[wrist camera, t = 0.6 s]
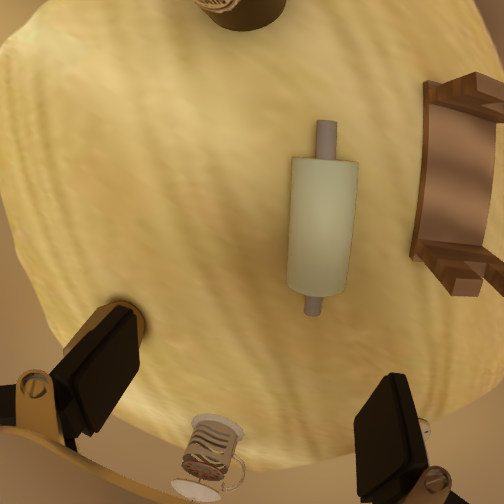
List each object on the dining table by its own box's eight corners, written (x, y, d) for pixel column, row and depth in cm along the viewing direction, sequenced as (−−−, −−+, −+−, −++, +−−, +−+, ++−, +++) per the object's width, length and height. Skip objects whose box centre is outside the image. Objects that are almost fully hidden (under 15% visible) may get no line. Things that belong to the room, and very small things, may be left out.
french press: (189, 408, 44) (133, 528, 21) (256, 422, 43) (221, 555, 20) (193, 436, 48) (149, 540, 25) (252, 449, 46) (222, 561, 23)
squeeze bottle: (116, 338, 41) (50, 415, 25) (99, 292, 39) (17, 364, 22) (159, 342, 40) (95, 434, 23) (143, 293, 37) (59, 381, 20)
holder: (471, 261, 28) (519, 307, 17) (409, 256, 29) (447, 307, 19) (488, 102, 21) (548, 96, 11) (423, 82, 22) (474, 59, 12)
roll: (337, 299, 32) (342, 329, 27) (286, 296, 33) (281, 325, 28) (354, 126, 26) (366, 122, 20) (294, 121, 27) (291, 115, 21)
